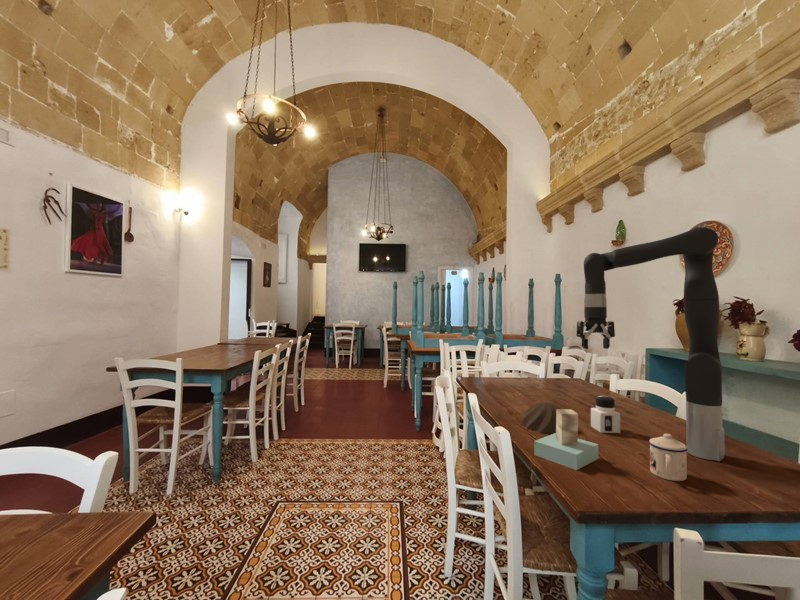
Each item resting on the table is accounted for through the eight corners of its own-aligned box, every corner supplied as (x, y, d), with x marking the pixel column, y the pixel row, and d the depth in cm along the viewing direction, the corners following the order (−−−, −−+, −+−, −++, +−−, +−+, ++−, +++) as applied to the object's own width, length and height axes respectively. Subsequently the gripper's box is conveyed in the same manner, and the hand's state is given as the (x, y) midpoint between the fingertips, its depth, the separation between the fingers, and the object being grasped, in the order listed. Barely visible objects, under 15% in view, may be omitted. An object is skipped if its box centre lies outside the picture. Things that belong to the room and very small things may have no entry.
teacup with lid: (649, 465, 113) (648, 427, 113) (686, 473, 108) (686, 433, 108) (648, 480, 103) (648, 438, 103) (689, 489, 98) (689, 445, 98)
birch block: (571, 439, 122) (571, 409, 122) (577, 445, 117) (578, 414, 117) (556, 438, 122) (556, 409, 122) (561, 444, 117) (561, 413, 117)
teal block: (598, 460, 118) (598, 444, 118) (576, 471, 109) (576, 454, 109) (557, 446, 129) (557, 432, 129) (534, 456, 120) (534, 440, 120)
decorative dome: (514, 427, 148) (514, 403, 148) (532, 416, 163) (532, 394, 163) (565, 439, 136) (565, 412, 136) (579, 426, 151) (579, 401, 151)
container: (620, 433, 142) (620, 399, 142) (600, 433, 142) (600, 399, 142) (609, 426, 149) (609, 394, 149) (590, 426, 149) (590, 394, 150)
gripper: (584, 305, 135) (584, 350, 134) (619, 306, 137) (620, 349, 136) (572, 306, 142) (572, 347, 142) (605, 306, 144) (606, 347, 144)
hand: (595, 348), depth 139 cm, fingers open, 8 cm apart
